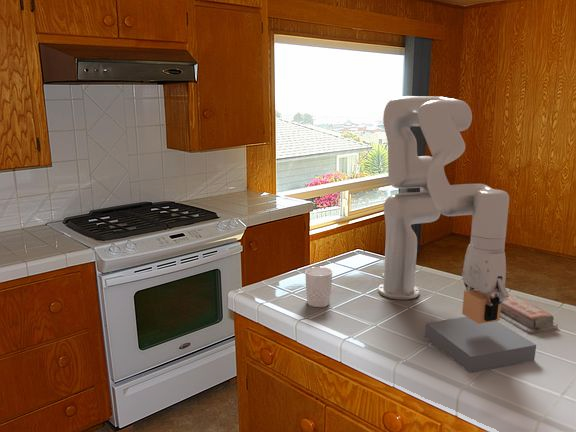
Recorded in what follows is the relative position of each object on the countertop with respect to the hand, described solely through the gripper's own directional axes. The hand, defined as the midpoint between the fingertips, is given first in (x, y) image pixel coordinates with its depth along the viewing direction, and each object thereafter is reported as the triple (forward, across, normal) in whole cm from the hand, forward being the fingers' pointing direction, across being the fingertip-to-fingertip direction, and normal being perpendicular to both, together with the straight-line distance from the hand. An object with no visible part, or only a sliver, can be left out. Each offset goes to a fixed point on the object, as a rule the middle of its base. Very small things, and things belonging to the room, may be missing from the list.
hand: (481, 313), depth 123 cm
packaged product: (+10, -12, +23) cm, 28 cm away
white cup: (+9, -38, -27) cm, 48 cm away
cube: (+1, 0, 0) cm, 1 cm away
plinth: (+9, 0, 0) cm, 9 cm away
